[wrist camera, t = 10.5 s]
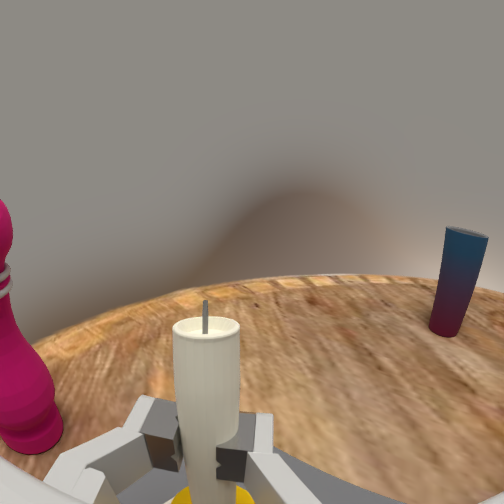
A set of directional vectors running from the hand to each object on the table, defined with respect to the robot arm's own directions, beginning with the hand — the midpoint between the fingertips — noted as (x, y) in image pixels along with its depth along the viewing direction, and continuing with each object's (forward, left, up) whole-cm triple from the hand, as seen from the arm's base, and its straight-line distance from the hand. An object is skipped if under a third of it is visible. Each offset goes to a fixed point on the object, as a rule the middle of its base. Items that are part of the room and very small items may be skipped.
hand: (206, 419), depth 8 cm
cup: (-40, +8, -12) cm, 43 cm away
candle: (+1, +1, -11) cm, 11 cm away
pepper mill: (+6, -15, -12) cm, 20 cm away
